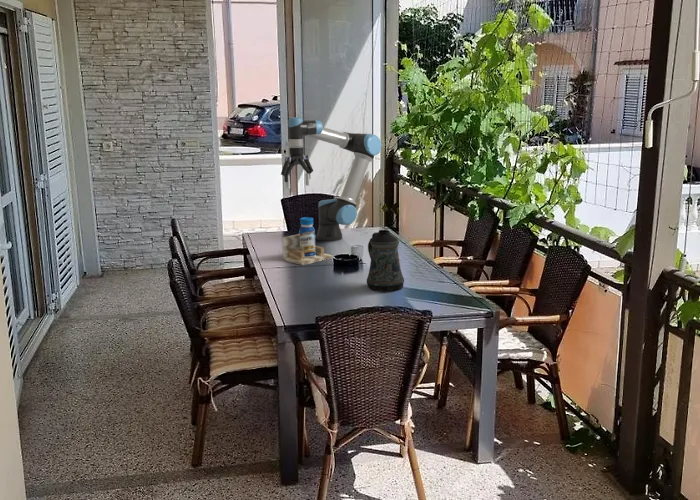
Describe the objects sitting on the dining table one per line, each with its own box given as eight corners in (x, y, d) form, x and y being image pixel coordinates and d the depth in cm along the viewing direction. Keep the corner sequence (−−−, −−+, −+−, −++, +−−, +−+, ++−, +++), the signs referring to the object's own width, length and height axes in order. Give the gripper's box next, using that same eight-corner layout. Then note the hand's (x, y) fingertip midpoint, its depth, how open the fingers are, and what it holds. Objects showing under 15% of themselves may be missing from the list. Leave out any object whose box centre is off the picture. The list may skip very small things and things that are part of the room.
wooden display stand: (312, 253, 367) (312, 231, 364) (332, 258, 355) (332, 235, 353) (283, 260, 354) (282, 237, 351) (302, 265, 342) (301, 241, 340)
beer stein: (392, 294, 290) (392, 236, 285) (354, 288, 300) (352, 232, 295) (410, 284, 304) (410, 229, 298) (372, 279, 314) (372, 225, 308)
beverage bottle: (319, 255, 356) (317, 217, 352) (311, 258, 349) (309, 220, 344) (304, 253, 360) (303, 216, 355) (296, 257, 352) (295, 219, 348)
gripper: (309, 145, 374) (311, 183, 379) (273, 148, 358) (275, 188, 363) (318, 145, 369) (320, 184, 374) (281, 149, 353) (283, 189, 357)
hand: (297, 186), depth 368 cm, fingers open, 13 cm apart
